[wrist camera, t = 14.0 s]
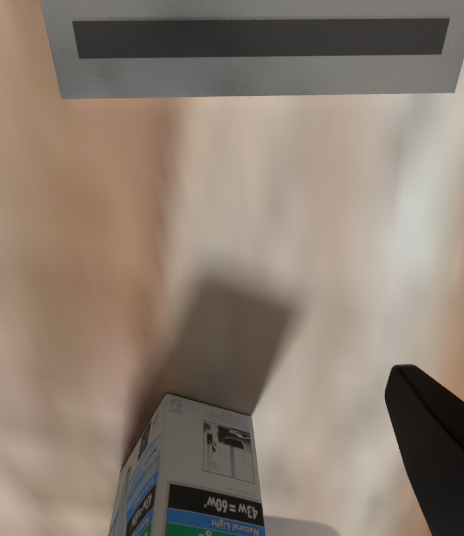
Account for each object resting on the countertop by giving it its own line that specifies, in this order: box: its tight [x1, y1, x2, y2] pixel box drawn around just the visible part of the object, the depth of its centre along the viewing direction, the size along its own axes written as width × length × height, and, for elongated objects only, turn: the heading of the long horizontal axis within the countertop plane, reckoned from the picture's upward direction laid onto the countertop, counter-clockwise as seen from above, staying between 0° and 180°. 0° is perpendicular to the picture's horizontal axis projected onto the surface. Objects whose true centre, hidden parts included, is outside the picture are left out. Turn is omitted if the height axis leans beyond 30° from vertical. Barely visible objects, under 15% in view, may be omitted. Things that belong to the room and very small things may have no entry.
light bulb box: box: [108, 394, 265, 536], centre depth 24 cm, size 11×7×11 cm, turn 155°
